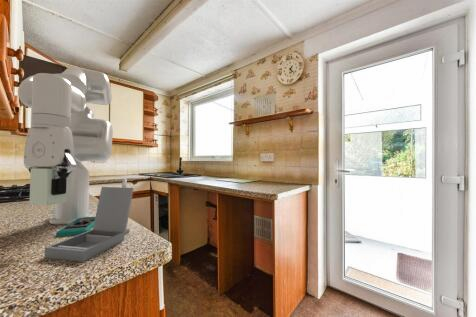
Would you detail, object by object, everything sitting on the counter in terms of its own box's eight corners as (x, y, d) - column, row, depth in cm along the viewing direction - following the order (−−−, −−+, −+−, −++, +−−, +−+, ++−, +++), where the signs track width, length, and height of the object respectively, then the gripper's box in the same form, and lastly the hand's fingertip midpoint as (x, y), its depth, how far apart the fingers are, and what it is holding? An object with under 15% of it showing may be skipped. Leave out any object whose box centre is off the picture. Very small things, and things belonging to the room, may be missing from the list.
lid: (101, 186, 59) (104, 187, 60) (92, 229, 56) (96, 229, 57) (132, 187, 57) (134, 188, 58) (124, 231, 54) (127, 231, 55)
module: (29, 204, 49) (30, 166, 49) (51, 201, 54) (52, 165, 54) (46, 205, 48) (47, 166, 48) (67, 201, 53) (68, 166, 53)
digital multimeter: (100, 223, 72) (101, 215, 72) (86, 238, 58) (86, 228, 58) (76, 225, 69) (76, 217, 69) (54, 241, 55) (54, 231, 55)
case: (44, 261, 44) (44, 247, 44) (92, 240, 56) (92, 229, 56) (83, 265, 42) (83, 251, 42) (124, 242, 54) (124, 231, 54)
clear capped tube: (116, 236, 58) (117, 179, 58) (122, 234, 60) (123, 178, 61) (123, 237, 58) (125, 179, 58) (129, 234, 60) (130, 178, 60)
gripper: (6, 121, 49) (3, 195, 49) (64, 119, 46) (62, 197, 46) (41, 127, 56) (39, 191, 56) (92, 125, 54) (91, 192, 53)
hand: (49, 193), depth 51 cm, fingers closed on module, 5 cm apart
